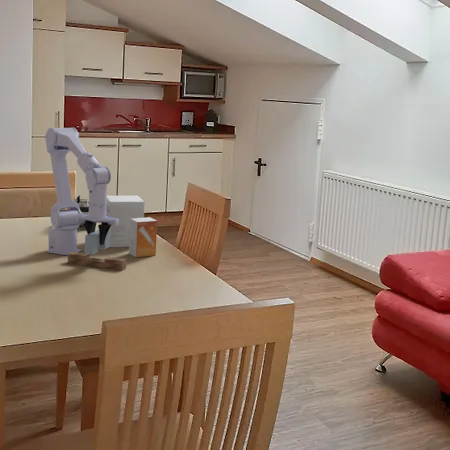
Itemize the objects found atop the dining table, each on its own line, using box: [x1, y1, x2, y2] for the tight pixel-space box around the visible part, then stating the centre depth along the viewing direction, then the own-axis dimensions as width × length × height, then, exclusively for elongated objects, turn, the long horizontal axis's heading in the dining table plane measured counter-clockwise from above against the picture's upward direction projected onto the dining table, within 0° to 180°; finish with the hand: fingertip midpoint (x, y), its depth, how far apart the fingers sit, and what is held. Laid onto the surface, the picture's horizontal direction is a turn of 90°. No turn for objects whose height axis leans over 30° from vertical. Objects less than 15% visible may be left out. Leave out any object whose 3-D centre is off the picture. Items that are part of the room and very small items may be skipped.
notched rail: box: [67, 252, 127, 271], centre depth 217 cm, size 20×3×3 cm, turn 74°
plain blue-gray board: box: [84, 229, 111, 255], centre depth 215 cm, size 3×12×6 cm, turn 164°
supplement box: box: [106, 195, 145, 248], centre depth 246 cm, size 13×13×18 cm
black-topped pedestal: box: [74, 194, 89, 226], centre depth 268 cm, size 28×26×13 cm
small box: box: [128, 216, 158, 258], centre depth 232 cm, size 8×6×13 cm
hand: (97, 243), depth 215 cm, fingers closed on plain blue-gray board, 3 cm apart
